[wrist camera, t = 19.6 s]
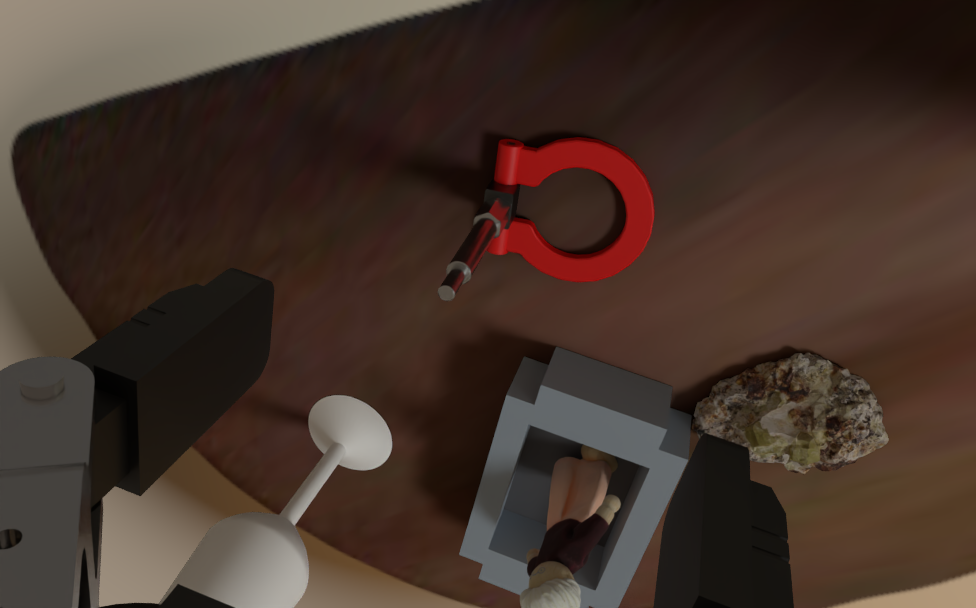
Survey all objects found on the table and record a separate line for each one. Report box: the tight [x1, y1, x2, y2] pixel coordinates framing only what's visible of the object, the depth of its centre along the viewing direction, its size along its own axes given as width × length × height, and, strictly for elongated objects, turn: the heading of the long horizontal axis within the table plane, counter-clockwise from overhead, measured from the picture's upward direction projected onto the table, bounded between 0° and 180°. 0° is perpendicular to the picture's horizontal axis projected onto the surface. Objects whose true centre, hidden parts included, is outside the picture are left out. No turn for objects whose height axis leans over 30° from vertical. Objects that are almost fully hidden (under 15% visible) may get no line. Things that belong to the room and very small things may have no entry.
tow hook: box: [438, 137, 655, 301], centre depth 38 cm, size 8×13×9 cm
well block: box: [459, 347, 692, 608], centre depth 50 cm, size 11×17×4 cm, turn 168°
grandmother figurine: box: [520, 444, 621, 608], centre depth 45 cm, size 8×4×13 cm, turn 153°
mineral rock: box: [691, 353, 889, 475], centre depth 45 cm, size 11×4×8 cm
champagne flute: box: [159, 395, 392, 608], centre depth 46 cm, size 7×7×24 cm
